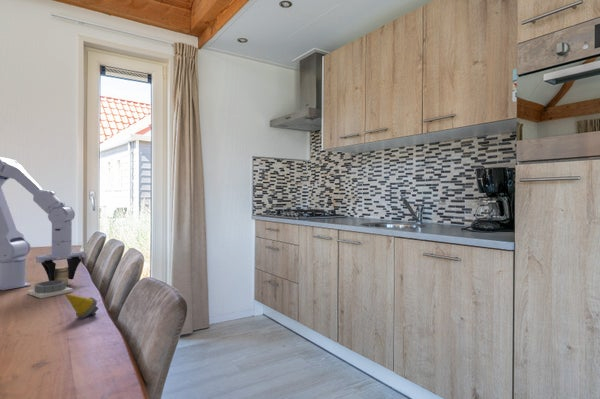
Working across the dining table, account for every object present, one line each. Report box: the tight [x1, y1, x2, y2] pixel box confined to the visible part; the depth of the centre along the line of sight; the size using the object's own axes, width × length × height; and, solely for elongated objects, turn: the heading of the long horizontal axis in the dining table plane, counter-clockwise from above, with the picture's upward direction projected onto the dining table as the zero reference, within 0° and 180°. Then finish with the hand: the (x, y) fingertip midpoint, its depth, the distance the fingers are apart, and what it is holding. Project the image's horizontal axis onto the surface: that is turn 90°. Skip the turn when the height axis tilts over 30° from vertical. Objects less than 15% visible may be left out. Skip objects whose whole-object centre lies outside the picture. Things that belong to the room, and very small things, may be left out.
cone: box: [64, 293, 99, 319], centre depth 91 cm, size 5×5×10 cm
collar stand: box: [27, 280, 74, 299], centre depth 114 cm, size 9×9×3 cm
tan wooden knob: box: [54, 266, 69, 287], centre depth 124 cm, size 4×4×6 cm
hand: (61, 280), depth 124 cm, fingers open, 5 cm apart
